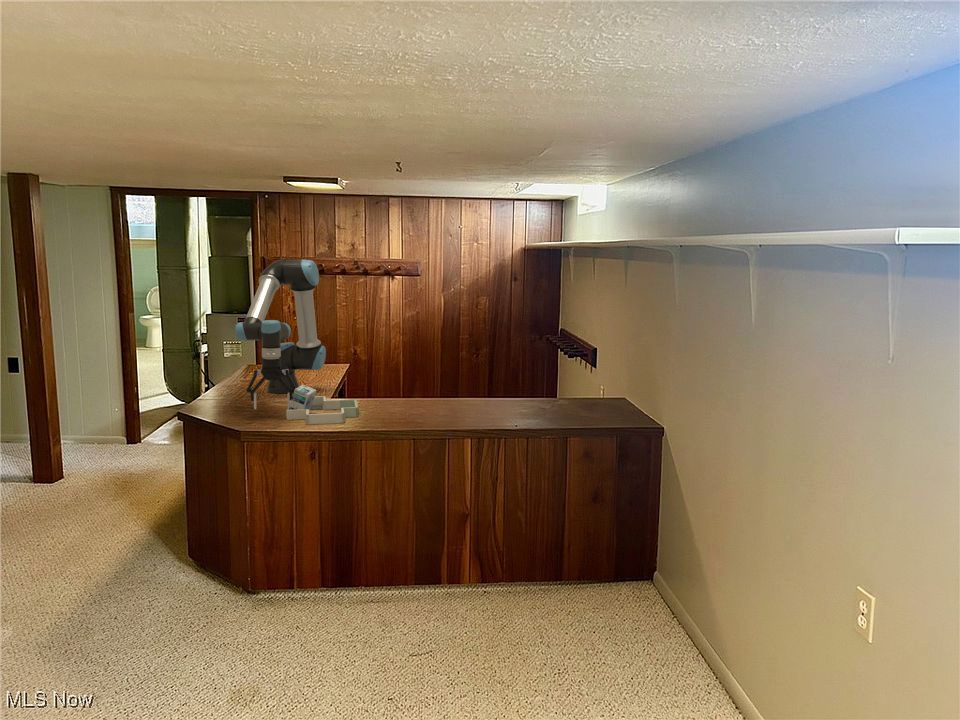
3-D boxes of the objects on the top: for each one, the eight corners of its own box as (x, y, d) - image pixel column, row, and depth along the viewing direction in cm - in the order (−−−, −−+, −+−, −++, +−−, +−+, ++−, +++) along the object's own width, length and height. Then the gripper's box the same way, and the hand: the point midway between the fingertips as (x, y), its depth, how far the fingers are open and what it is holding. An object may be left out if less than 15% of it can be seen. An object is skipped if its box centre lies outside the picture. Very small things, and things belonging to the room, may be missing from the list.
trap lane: (289, 406, 321) (288, 397, 320) (355, 403, 327) (355, 394, 326) (285, 425, 288) (285, 415, 287) (359, 422, 294) (359, 412, 293)
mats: (294, 406, 320) (294, 405, 320) (338, 404, 324) (338, 404, 324) (292, 424, 289) (292, 423, 289) (340, 422, 294) (340, 421, 294)
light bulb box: (301, 418, 299) (309, 395, 297) (286, 412, 299) (294, 388, 297) (309, 412, 309) (317, 389, 307) (294, 406, 310) (302, 383, 308)
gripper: (238, 359, 292) (239, 410, 295) (301, 359, 297) (302, 409, 301) (241, 356, 300) (242, 406, 303) (302, 356, 305) (303, 405, 308)
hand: (272, 408), depth 302 cm, fingers open, 13 cm apart
